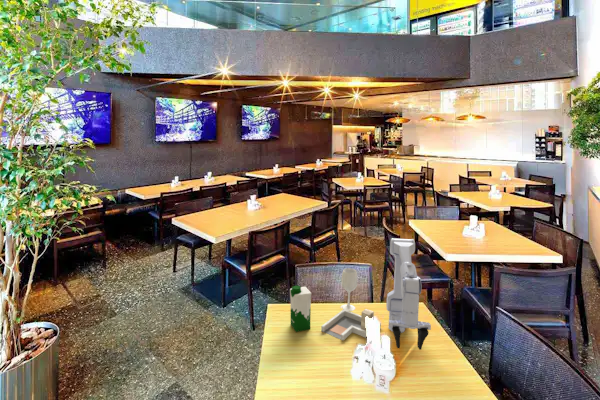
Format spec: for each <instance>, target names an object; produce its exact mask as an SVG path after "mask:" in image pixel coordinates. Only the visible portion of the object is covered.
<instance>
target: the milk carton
mask: <svg viewBox="0 0 600 400" xmlns="http://www.w3.org/2000/svg"><path fill="white" fill-rule="evenodd" d="M289 295H290V298H289V299H290V325H291V327H292V329H293V330H294V332H295V331H296V332H295V333H299V332H303V331H307V330H311V316H312V315H311V310H312V309H311V307H312V306H311V305H312V304H311V303H312V302H311V299H312V292H311V291H310V290H309V289H308V288H307V286H301V285H293V286H291V288H289Z"/></svg>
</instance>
